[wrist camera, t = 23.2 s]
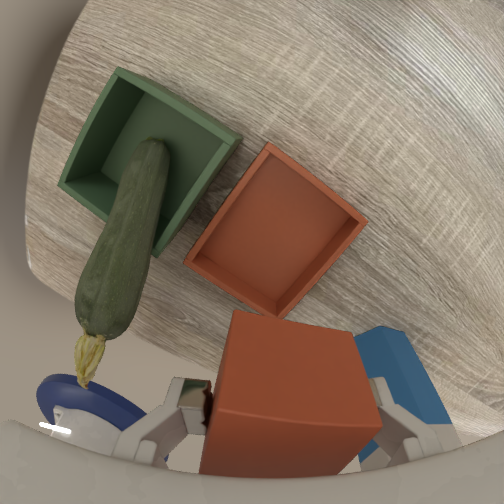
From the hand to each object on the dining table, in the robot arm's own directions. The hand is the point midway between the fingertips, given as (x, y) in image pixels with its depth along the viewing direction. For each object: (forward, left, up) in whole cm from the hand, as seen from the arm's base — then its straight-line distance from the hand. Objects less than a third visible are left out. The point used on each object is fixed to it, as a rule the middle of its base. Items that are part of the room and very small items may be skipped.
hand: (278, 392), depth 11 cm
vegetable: (+3, +13, -16) cm, 21 cm away
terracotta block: (0, 0, -2) cm, 2 cm away
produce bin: (+1, +12, -18) cm, 22 cm away
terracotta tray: (+1, 0, -18) cm, 18 cm away
